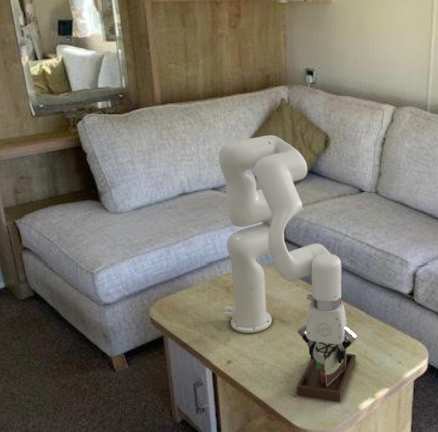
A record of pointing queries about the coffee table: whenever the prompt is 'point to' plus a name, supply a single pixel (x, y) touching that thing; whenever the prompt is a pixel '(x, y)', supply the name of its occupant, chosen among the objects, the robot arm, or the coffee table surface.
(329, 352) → the lattice half-cylinder
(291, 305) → the coffee table surface
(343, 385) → the tray
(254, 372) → the coffee table surface
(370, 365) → the coffee table surface
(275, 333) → the coffee table surface
